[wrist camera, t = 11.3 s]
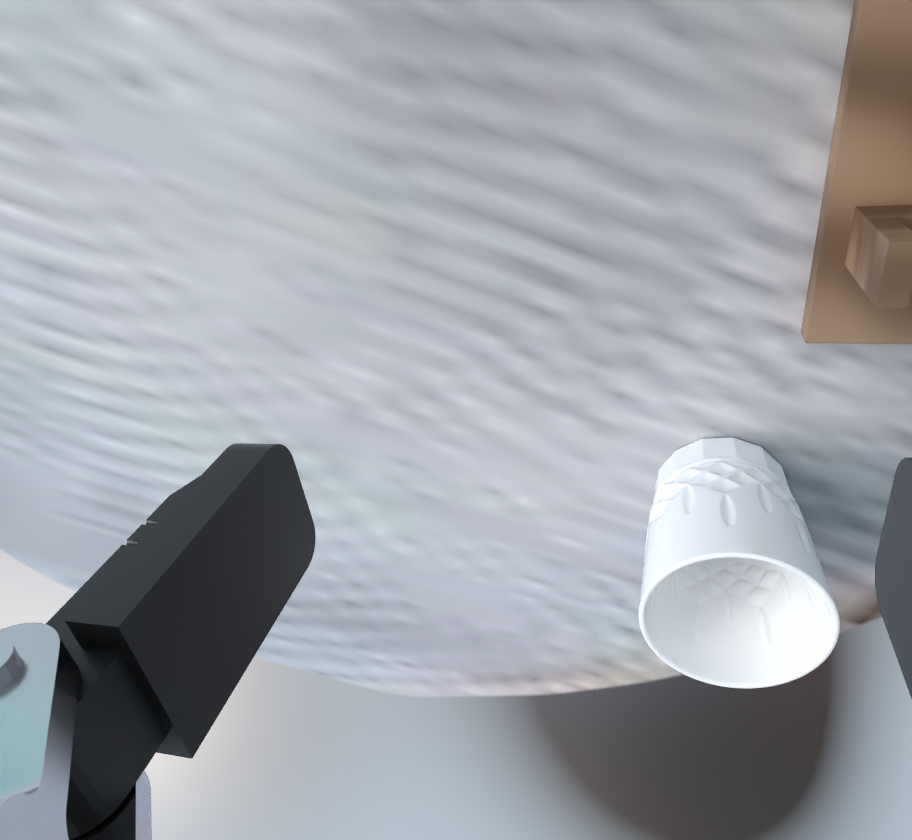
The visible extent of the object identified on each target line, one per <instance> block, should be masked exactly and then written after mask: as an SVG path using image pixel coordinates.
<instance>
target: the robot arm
mask: <svg viewBox="0 0 912 840" xmlns="http://www.w3.org/2000/svg"><path fill="white" fill-rule="evenodd" d="M314 548H315V527H314V523H313V520H312V516H311V513H310V510H309V507H308V504H307V501H306V498H305V494H304V491H303V488H302V485H301V482H300V479H299V476H298V472H297V469H296V466H295V463H294V460H293V457H292V455H291V453H290V451H289V450H288V449H287V448H286V447H285V446H284V445H281V444H237V443H236V444H233V445H231V446H229V447H228V448H227V449H226V450H225V451H224V452H223V453H222V454H221V455H220V456H219V457H218V458H217V459H216V460H215V461H214V463H213V464H212V465H211V466H210V467H209V468H208V469H207V470H206V471H205V472H204V473H203V474H202V475H201V476H199V477H198V478H196V479H195V480H193V481H192V482H190V483H188V484H187V485H185V486H184V487H182V488H181V489H179V490H178V491H176V492H175V493H173V494H171V495H170V496H169V497H168V498H167V499H166V500H165V501H164V502H163V503H162V504H161V505H160V506H159V507H158V508H157V509H156V510H155V511H154V512H153V513H152V515H151V516H150V517H149V518H148V519H147V523H146V525H141V526H140V527H139V528H138V529H137V530H136V531H135V532H134V533H133V534H132V535H131V536H130V537H129V538H128V539H127V545H122V546H121V547H120V548H119V549H118V550H117V551H116V552H115V553H114V554H113V555H112V556H111V557H110V558H109V559H108V560H107V561H106V562H105V563H104V564H103V565H102V566H101V567H100V568H99V569H98V570H97V572H96V573H95V574H94V575H93V576H92V577H91V578H90V579H89V580H88V581H87V582H86V583H85V584H84V585H83V586H82V587H81V588H80V589H79V590H78V591H77V592H76V593H75V594H74V595H73V597H72V598H71V599H70V600H69V601H68V602H67V603H66V604H65V605H64V606H63V607H62V608H61V609H60V610H59V611H58V612H57V613H56V614H55V615H54V616H53V617H52V618H51V619H50V620H49V621H48V622H47V623H46V624H42V623H23V624H18V625H13V626H10V627H7V628H3V629H1V630H0V840H152V833H151V832H152V831H151V787H150V781H149V779H148V776H147V775H146V773H145V771H144V769H145V768H146V766H147V765H148V763H149V762H150V760H151V759H152V757H153V756H154V754H155V753H156V752H157V753H163V754H169V755H175V756H181V757H186V758H193V756H194V755H195V753H196V751H197V750H198V748H199V746H200V745H201V742H202V741H203V740H204V738H205V736H206V735H207V733H208V731H209V730H210V728H211V726H212V725H213V723H214V722H215V720H216V718H217V717H218V715H219V713H220V712H221V710H222V708H223V707H224V705H225V703H226V702H227V700H228V698H229V696H230V695H231V693H232V692H233V690H234V688H235V687H236V685H237V683H238V682H239V680H240V679H241V677H242V675H243V673H244V672H245V670H246V669H247V667H248V665H249V663H250V662H251V660H252V659H253V657H254V655H255V654H256V652H257V651H258V649H259V647H260V646H261V644H262V642H263V641H264V639H265V637H266V636H267V634H268V632H269V631H270V629H271V627H272V626H273V624H274V622H275V621H276V619H277V617H278V616H279V614H280V613H281V611H282V609H283V608H284V606H285V604H286V603H287V601H288V599H289V598H290V596H291V594H292V593H293V591H294V589H295V588H296V586H297V584H298V583H299V581H300V580H301V578H302V576H303V575H304V573H305V571H306V570H307V568H308V566H309V564H310V562H311V559H312V556H313V553H314ZM875 585H876V594H877V600H878V605H879V608H880V612H881V615H882V617H883V620H884V623H885V626H886V628H887V631H888V634H889V637H890V640H891V642H892V645H893V648H894V651H895V653H896V656H897V659H898V662H899V665H900V667H901V670H902V673H903V676H904V678H905V681H906V684H907V687H908V690H909V693H910V695H911V698H912V458H904V459H903V460H902V461H901V462H900V463H899V465H898V467H897V470H896V473H895V477H894V481H893V486H892V490H891V495H890V499H889V504H888V508H887V512H886V517H885V521H884V526H883V530H882V534H881V539H880V543H879V548H878V552H877V557H876V565H875Z"/></svg>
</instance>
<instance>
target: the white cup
mask: <svg viewBox="0 0 912 840" xmlns="http://www.w3.org/2000/svg"><path fill="white" fill-rule="evenodd" d="M639 623H640V628H641V631H642V634H643V636H644V638H645V640H646V642H647V643H648V645H649V646H650V648H651V649H652V650H653V651H654V653H655V654H656V655H657V656H658V657H659V658H660V659H662V660H663V661H664V662H665V663H666V664H668V665H669V666H671V667H672V668H674V669H675V670H677V671H679V672H681V673H683V674H685V675H687V676H689V677H691V678H694V679H696V680H699V681H702V682H705V683H709V684H713V685H718V686H723V687H732V688H762V687H770V686H775V685H779V684H783V683H787V682H790V681H792V680H795V679H798V678H800V677H802V676H804V675H806V674H808V673H809V672H811V671H812V670H814V669H815V668H817V667H818V666H819V665H820V664H821V663H822V662H824V661H825V659H826V658H827V657H828V656H829V655H830V653H831V652H832V650H833V648H834V647H835V644H836V642H837V640H838V636H839V630H840V620H839V614H838V611H837V608H836V605H835V602H834V600H833V597H832V594H831V591H830V589H829V586H828V583H827V580H826V578H825V575H824V572H823V569H822V567H821V564H820V561H819V558H818V555H817V553H816V550H815V547H814V544H813V541H812V539H811V536H810V533H809V530H808V528H807V525H806V523H805V520H804V518H803V516H802V513H801V511H800V509H799V505H798V504H797V502H796V501H795V499H794V497H793V496H792V494H791V491H790V489H789V486H788V483H787V480H786V477H785V474H784V471H783V468H782V466H781V465H780V464H779V463H778V462H777V461H776V460H775V459H774V458H773V457H772V456H771V455H769V454H768V453H767V452H766V451H765V450H764V449H763V448H762V447H760V446H757V445H754V444H751V443H748V442H745V441H742V440H739V439H736V438H733V437H729V438H705V439H700V440H698V441H696V442H693V443H691V444H689V445H686V446H684V447H682V448H679V449H677V450H676V451H675V452H674V453H673V454H672V455H671V456H670V457H669V458H668V460H667V461H666V462H665V463H664V464H663V465H662V466H661V467H660V468H659V471H658V476H657V481H656V486H655V490H654V500H653V505H652V507H651V510H650V518H649V524H648V530H647V538H646V547H645V558H644V568H643V578H642V588H641V597H640V606H639Z"/></svg>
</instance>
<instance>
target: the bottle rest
mask: <svg viewBox="0 0 912 840" xmlns="http://www.w3.org/2000/svg"><path fill="white" fill-rule="evenodd" d="M801 333H802V336H803V338H804V340H805V343H864V344H912V0H855V1H854V7H853V13H852V20H851V26H850V32H849V38H848V45H847V51H846V57H845V63H844V69H843V76H842V82H841V88H840V94H839V101H838V107H837V113H836V119H835V125H834V132H833V138H832V144H831V150H830V156H829V163H828V169H827V175H826V181H825V188H824V194H823V200H822V206H821V212H820V219H819V225H818V231H817V237H816V244H815V250H814V256H813V262H812V268H811V275H810V281H809V287H808V293H807V300H806V306H805V312H804V318H803V324H802V331H801Z"/></svg>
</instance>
